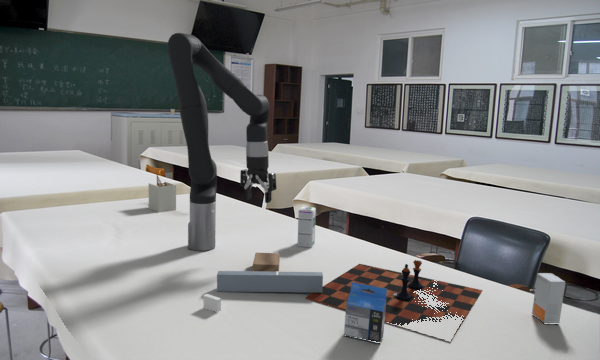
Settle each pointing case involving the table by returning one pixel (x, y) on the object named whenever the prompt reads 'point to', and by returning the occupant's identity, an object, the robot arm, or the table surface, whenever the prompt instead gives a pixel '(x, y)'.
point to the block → (266, 262)
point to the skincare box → (548, 298)
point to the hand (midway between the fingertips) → (258, 200)
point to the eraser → (212, 303)
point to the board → (269, 281)
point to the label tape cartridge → (365, 312)
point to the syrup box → (306, 226)
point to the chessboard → (400, 293)
